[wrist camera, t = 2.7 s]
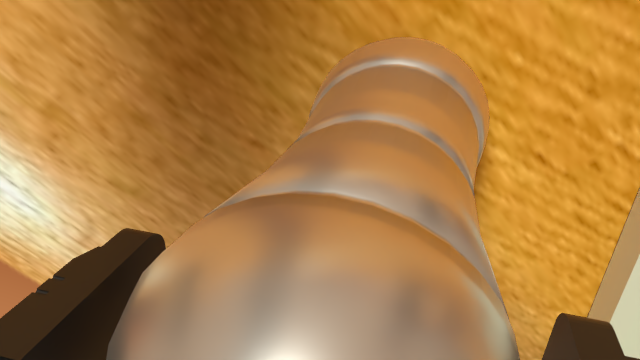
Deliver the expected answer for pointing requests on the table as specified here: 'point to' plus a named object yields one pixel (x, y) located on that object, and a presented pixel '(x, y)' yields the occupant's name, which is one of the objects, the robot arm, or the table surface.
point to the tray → (623, 287)
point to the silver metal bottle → (343, 234)
